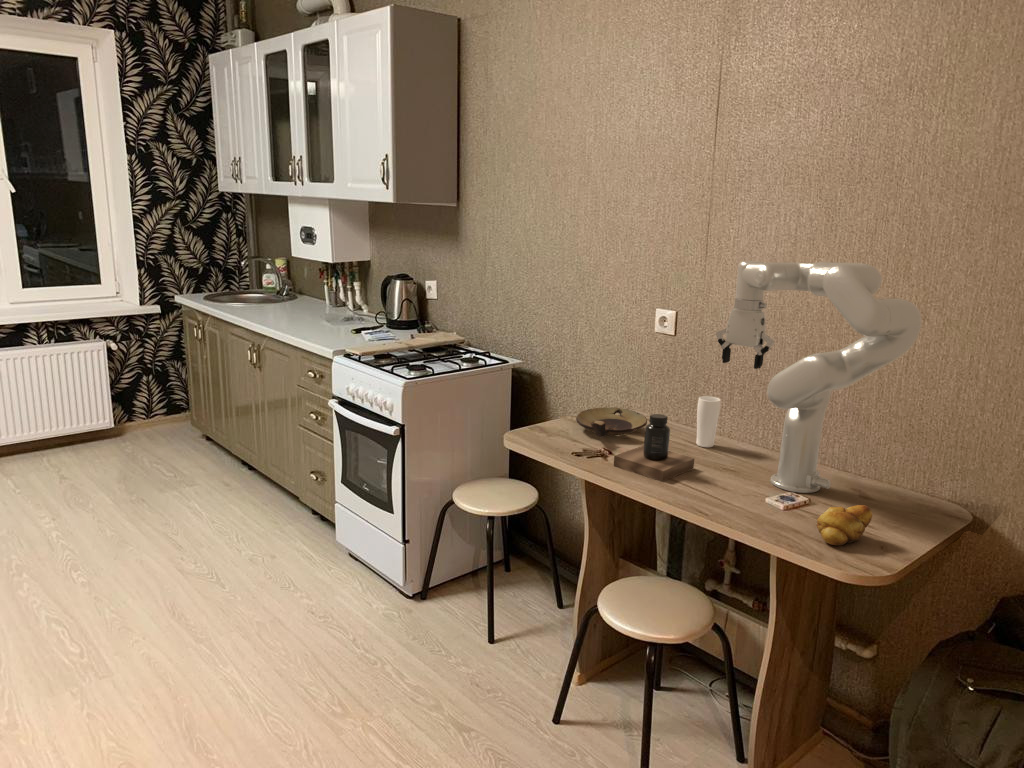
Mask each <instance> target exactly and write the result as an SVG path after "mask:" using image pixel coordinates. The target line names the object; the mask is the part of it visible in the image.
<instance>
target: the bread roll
mask: <svg viewBox="0 0 1024 768" xmlns="http://www.w3.org/2000/svg"><path fill="white" fill-rule="evenodd" d="M872 519H873V512H872V510H871V509H870V507H869V506H867V505H865V504H863V505H862V504H860V505H859V504H857V505H853V506H852V505H851V506H849V507H847V508H845V507H844V506H830V507H829V508H827V509H826V510H825V511H824V512H823V513H822V514H820V515H819V517H818V518H817V519H816V520H817V521H816V523H817V524H816V528H817V530H818V532H819V534H820V536H821V538H822V540H823V541H824V542H825V543H826V544H829V545H832V546H843V545H845V544H846V543H856V542H858V541H859V540H860V539H862V537H863V534H864V533H865V531H866V528H867V527H868V526H869V524H870V523H871V521H872Z"/></svg>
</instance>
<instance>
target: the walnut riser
mask: <svg viewBox="0 0 1024 768" xmlns="http://www.w3.org/2000/svg"><path fill="white" fill-rule="evenodd" d="M643 452H644V445H642V446H641V445H640V446H639V447H635V448H632V449H630V450H627V451H624V452H621V453H618V454H616V455H614V457H613V466H614V467H616V468H619V469H622V470H625V471H627V472H630V473H634V474H637V475H640V476H644V477H646V478H650V479H654V480H656V481H659V482H665V481H667V480H670V479H673V478H674V477H676V476H679V475H681V474H684V473H686V472H689V471H691V470H693V469H694V467H695V457H691V456H688V455H684V454H681V453H677V452H674V451H670V450H668V458H667V459H666V460H662V461H655V460H650V459H647V458H645V457H644V455H643Z"/></svg>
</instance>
